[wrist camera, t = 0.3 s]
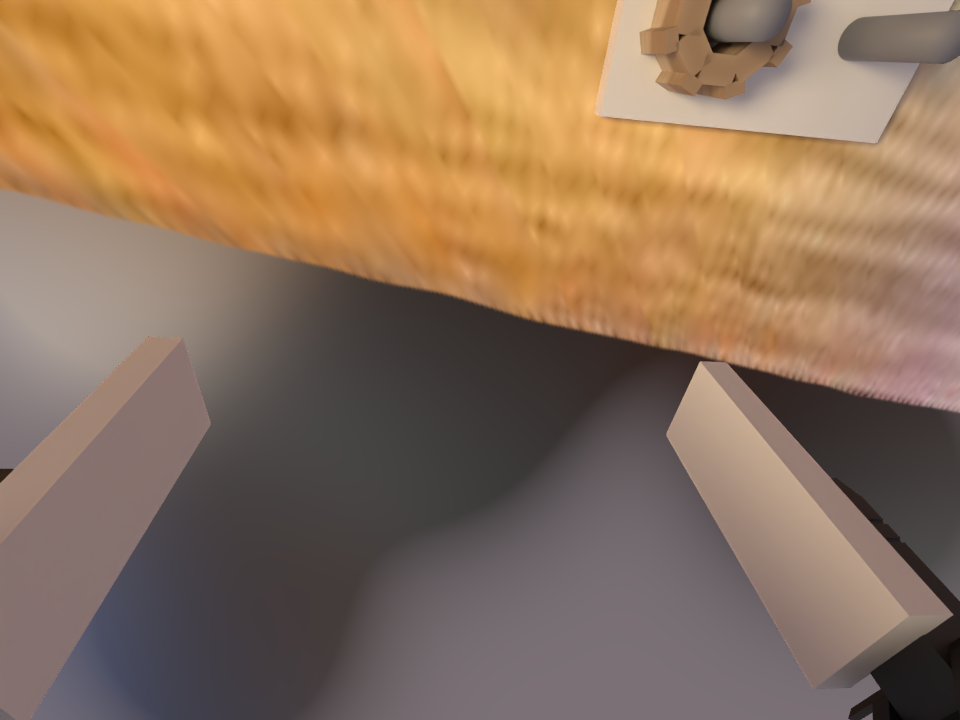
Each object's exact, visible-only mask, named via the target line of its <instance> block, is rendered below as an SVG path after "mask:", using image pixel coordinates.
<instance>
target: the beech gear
mask: <svg viewBox="0 0 960 720" xmlns="http://www.w3.org/2000/svg"><path fill="white" fill-rule="evenodd" d="M711 1H712V0H657V4H656V8H655V12H654V16H653V20H652V24H651V28H650V29H647V30H645V31H642V32H639V34H640V46H641V54H654V55H655V57H656V59H657V61H658V64H659V66H660V68H661V70H662V71H661V73H660V75H659V76H658V78H657V79H656V81H655V82H656V83H658V84H659V85H660V86H662V87H663V88H665V89H666V90H667V91H671V92H676V93H681V94H686V95H691V96H695V95H696V94H699V95H704V96H709V97H715V98H720V99H728V98H731V97H734V96H737V95H740V94H743V93H745V80H746V79H747V78H748V77H750V76H751V75H752V74H753V73H755V72H756V71H757V70H759V69H760V68H761V67H776V68H777V67H778V66H779V65H780V63H781V62H782V61H783V59H784V58H785V56H786V55H787V54H788V52H789V51H790V50H791V48H792V47H793V46H792V45H791V44H790V43H789V42H787V41H786V40H785V38H786V36H787V33H788V31H789V28H790V25H791V23H792V20H793V18H794V15H795V13H796V10H797V8H798V7H799V6H802V5H805V4H808V3H811V0H792V9H791V13H790V16H789V18H788V20H787V22H786V24H785V26H784V27H783V28H782V30H781V31H780V32H779V33H778V34H777V35H775V36H774V37H773V38H771V39H769V40H767V41H763V42H719V43H718V44H716V45H715V46H714V47H713V48H712V49H711V47H710V45H709V42H708V40H707V37H706V35H705V33H704V30H703V27H704V24H705V21H706V17H707V14H708V11H709V7H710V4H711Z"/></svg>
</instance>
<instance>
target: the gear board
mask: <svg viewBox="0 0 960 720" xmlns="http://www.w3.org/2000/svg"><path fill="white" fill-rule="evenodd" d="M953 2H954V0H811V3H808V4H805V5H802V6H799V7H798V8H797V10H796V13H795V15H794V18H793V20H792V23H791V25H790V28H789V31H788V33H787V36H786V38H785V40H786V41H787V42H789V43H790V44H791V45H792V46H793V47H792V48H791V50H790V51H789V52H788V54H787V55H786V56H785V58H784V59H783V61H782V62H781V63H780V65H779V66H778V67H777V68H776V67H761V68H760V69H759V70H757V71H756V72H755V73H753V74H752V75H751V76H750V77H748V78H747V79H746V80H745V93H743V94H740V95H737V96H734V97H731V98H728V99H720V98H715V97H709V96H704V95H699V94H696V95H695V96H691V95H686V94H681V93H676V92H671V91H667V90H666V89H665V88H663V87H662V86H660V85H659V84H658V83H656V82H655V81H656V79H657V78H658V76H659V75H660V73H661V71H662V70H661V68H660V66H659V64H658V61H657V59H656V57H655V55H654V54H641V46H640V34H639V32H642V31H645V30H647V29H650V28H651V24H652V20H653V16H654V12H655V8H656V4H657V0H617V5H616V9H615V14H614V19H613V24H612V29H611V33H610V38H609V43H608V48H607V53H606V57H605V62H604V67H603V72H602V77H601V81H600V86H599V91H598V96H597V101H596V105H595V110H594V114H596V115H598V116H603V117H613V118H623V119H633V120H643V121H653V122H664V123H674V124H684V125H694V126H704V127H714V128H724V129H735V130H745V131H755V132H765V133H775V134H785V135H796V136H806V137H816V138H826V139H836V140H846V141H856V142H867V143H877V142H878V140H879V138H880V136H881V134H882V132H883V130H884V129H885V127H886V125H887V123H888V121H889V119H890V118H891V116H892V114H893V112H894V110H895V108H896V107H897V105H898V103H899V101H900V99H901V97H902V96H903V94H904V92H905V90H906V88H907V86H908V85H909V83H910V81H911V79H912V77H913V75H914V73H915V72H916V70H917V68H918V66H919V64H920V63H931V64H944V63H947V62H950V61H952V60H954V59H955V58H957V57H958V56H959V55H960V10H957V11H949V9H950V7H951V5H952V4H953ZM791 9H792V0H712V1H711V4H710V7H709V11H708V14H707V17H706V21H705V24H704V27H703V30H704V33H705V35H706V37H707V40H708V42H709V45H710V47H711V49H712V48H713V47H714V46H715V45H716V44H718V43H719V42H763V41H767V40H769V39H771V38H773V37H774V36H775V35H777V34H778V33H779V32H780V31H781V30H782V28H783V27H784V26H785V24H786V22H787V20H788V18H789V16H790V13H791Z"/></svg>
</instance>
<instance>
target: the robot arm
mask: <svg viewBox="0 0 960 720" xmlns="http://www.w3.org/2000/svg"><path fill="white" fill-rule="evenodd" d="M210 424H211V423H210V420H209V417H208V414H207V410H206V407H205V404H204V401H203V398H202V395H201V392H200V389H199V386H198V383H197V380H196V377H195V374H194V371H193V367H192V364H191V361H190V358H189V355H188V352H187V349H186V346H185V343H184V340H183V338H169V337H147V338H146V339H145V340H144V341H143V342H142V343H141V344H140V345H139V346H138V347H137V348H136V349H135V350H134V351H133V352H132V353H131V354H130V355H129V356H128V357H127V358H126V359H125V360H124V361H123V362H122V363H121V364H120V365H119V366H118V367H117V368H116V369H115V370H114V371H113V372H112V373H111V374H110V375H109V376H108V377H107V378H106V379H105V380H104V381H103V382H102V383H101V384H100V385H99V386H98V387H97V388H96V389H95V390H94V391H93V392H92V393H91V394H90V395H89V396H88V397H87V398H86V399H85V400H84V401H83V402H82V403H81V404H80V405H79V406H78V407H77V408H76V409H75V410H74V411H73V412H72V413H71V414H70V415H68V417H66V418H65V419H64V420H63V421H62V423H60V425H58V426H57V428H55V429H54V430H53V431H52V433H50V434H49V435H48V436H47V437H46V438H45V439H44V440H43V441H42V442H41V443H40V444H39V445H38V446H37V448H35V449H34V450H33V451H32V452H31V453H30V454H29V455H28V456H27V457H26V458H25V459H24V460H23V461H22V462H21V463H20V464H19V465H18V466H17V467H16V468H15V469H0V720H30V719H31V718H32V716H33V714H34V713H35V711H36V709H37V708H38V706H39V705H40V703H41V701H42V700H43V698H44V696H45V695H46V693H47V691H48V690H49V688H50V687H51V685H52V683H53V682H54V680H55V678H56V677H57V675H58V673H59V672H60V670H61V668H62V667H63V665H64V664H65V662H66V660H67V659H68V657H69V655H70V654H71V652H72V650H73V649H74V647H75V645H76V644H77V642H78V641H79V639H80V637H81V636H82V634H83V632H84V631H85V629H86V627H87V626H88V624H89V623H90V621H91V619H92V618H93V616H94V614H95V613H96V611H97V610H98V608H99V606H100V605H101V603H102V601H103V600H104V598H105V596H106V595H107V593H108V591H109V590H110V588H111V586H112V585H113V583H114V582H115V580H116V578H117V577H118V575H119V573H120V572H121V570H122V568H123V567H124V565H125V564H126V562H127V560H128V559H129V557H130V555H131V554H132V552H133V551H134V549H135V547H136V545H137V544H138V542H139V541H140V539H141V537H142V536H143V534H144V532H145V531H146V529H147V528H148V526H149V524H150V523H151V520H152V519H153V518H154V516H155V514H156V513H157V511H158V509H159V508H160V506H161V504H162V503H163V501H164V500H165V498H166V496H167V495H168V493H169V491H170V490H171V488H172V487H173V485H174V483H175V482H176V480H177V478H178V477H179V475H180V473H181V472H182V470H183V469H184V467H185V465H186V463H187V462H188V460H189V459H190V457H191V455H192V454H193V452H194V451H195V449H196V447H197V446H198V444H199V442H200V441H201V439H202V437H203V436H204V434H205V432H206V431H207V429H208V427H209V426H210ZM666 436H667V438H668V439H669V441H670V443H671V444H672V446H673V448H674V450H675V451H676V453H677V455H678V457H679V458H680V460H681V462H682V464H683V465H684V467H685V468H686V471H687V472H688V474H689V476H690V477H691V479H692V481H693V482H694V484H695V486H696V488H697V490H698V491H699V493H700V495H701V496H702V498H703V500H704V502H705V503H706V505H707V507H708V508H709V510H710V512H711V513H712V515H713V517H714V519H715V521H716V522H717V524H718V526H719V527H720V529H721V531H722V532H723V534H724V536H725V538H726V540H727V541H728V543H729V545H730V546H731V548H732V550H733V552H734V553H735V555H736V557H737V559H738V560H739V562H740V564H741V566H742V567H743V569H744V571H745V573H746V574H747V576H748V578H749V579H750V581H751V583H752V585H753V586H754V588H755V590H756V592H757V593H758V595H759V597H760V598H761V600H762V602H763V603H764V605H765V607H766V609H767V610H768V612H769V614H770V616H771V617H772V619H773V621H774V623H775V625H776V626H777V628H778V630H779V631H780V633H781V635H782V636H783V638H784V640H785V642H786V643H787V645H788V647H789V649H790V650H791V652H792V654H793V655H794V657H795V659H796V661H797V663H798V664H799V666H800V668H801V669H802V671H803V673H804V675H805V676H806V678H807V680H808V682H809V683H810V685H811V687H812V689H813V690H814V689H834V688H835V689H836V688H851V687H852V686H853V685H855V684H856V683H858V682H859V681H860V680H862V679H863V678H865V677H866V676H868V675H869V674H870V673H871V675H872V676H873V678H874V679H875V681H876V682H877V684H878V685H879V686H880V688H881V689H880V690H879V691H877V692H876V693H874V694H873V695H871V696H870V697H868V698H867V699H865V700H863V701H862V702H861V703H859V704H858V705H856V706H854V707H853V708H851V711H850V714H849V718H848V719H850V720H861V719H862V718H864V717H866V716H867V715H869V714H871V713H872V712H873V720H960V601H959V600H958V599H957V598H956V597H955V596H954V595H953V594H952V593H951V592H950V591H949V589H948V588H947V587H946V586H945V585H944V584H943V583H942V582H941V581H940V580H939V579H938V578H937V577H936V576H935V575H934V573H933V572H932V571H931V570H930V569H929V568H928V567H927V566H926V565H925V564H924V563H923V562H922V561H921V560H920V559H919V557H918V556H917V555H916V554H915V553H914V552H913V551H912V550H911V549H910V548H909V547H908V546H907V545H906V543H902V542H901V541H900V537H899V536H898V535H897V534H896V533H895V532H894V531H893V530H892V529H891V527H890V526H889V525H887V524H884V523H883V519H882V518H881V517H880V516H879V515H878V513H877V512H876V511H875V510H874V509H873V508H872V507H871V506H870V505H869V504H868V503H867V502H866V501H865V500H864V498H863V497H861V496H860V495H859V494H857V493H855V492H854V491H853V490H852V489H850V488H849V487H848V486H846V485H845V484H844V483H842V482H841V481H839V480H838V479H837V478H830V477H829V476H828V475H827V474H826V473H825V472H824V470H822V468H821V467H820V466H819V465H818V464H817V463H816V462H815V461H814V459H813V458H812V457H811V456H810V455H809V454H808V453H807V452H806V451H805V449H804V448H803V447H802V446H801V445H800V444H799V443H798V442H797V441H796V439H795V438H794V437H793V436H792V435H791V434H790V433H789V432H788V431H787V429H786V428H785V427H784V426H783V425H782V424H781V423H780V422H779V421H778V420H777V418H776V417H775V416H774V415H773V414H772V413H771V412H770V411H769V410H768V408H767V407H766V406H765V405H764V404H763V403H762V402H761V401H760V399H759V398H758V397H757V396H756V395H755V394H754V393H753V392H752V391H751V389H750V388H749V387H748V386H747V385H746V384H745V383H744V382H743V381H742V380H741V378H740V377H739V376H738V375H737V374H736V373H735V372H734V371H733V370H732V369H731V367H730V366H729V365H728V364H727V363H723V362H700V363H699V365H698V367H697V369H696V371H695V374H694V376H693V378H692V380H691V383H690V384H689V387H688V389H687V391H686V393H685V395H684V397H683V400H682V402H681V404H680V406H679V408H678V410H677V412H676V414H675V417H674V419H673V421H672V423H671V425H670V427H669V429H668V432H667V434H666Z"/></svg>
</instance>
